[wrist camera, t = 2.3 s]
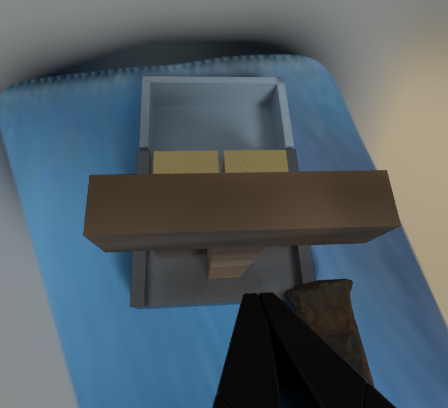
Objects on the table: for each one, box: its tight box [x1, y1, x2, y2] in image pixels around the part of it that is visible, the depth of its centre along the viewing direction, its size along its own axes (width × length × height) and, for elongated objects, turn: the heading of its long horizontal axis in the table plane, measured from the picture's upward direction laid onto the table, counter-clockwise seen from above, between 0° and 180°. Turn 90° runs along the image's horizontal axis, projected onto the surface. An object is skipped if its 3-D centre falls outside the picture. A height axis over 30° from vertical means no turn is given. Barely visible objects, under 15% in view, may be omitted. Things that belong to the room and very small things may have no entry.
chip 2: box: [221, 150, 289, 173], centre depth 21 cm, size 4×4×3 cm
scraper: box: [83, 170, 401, 279], centre depth 16 cm, size 3×10×11 cm, turn 93°
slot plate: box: [130, 149, 315, 309], centre depth 22 cm, size 10×11×3 cm
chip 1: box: [153, 150, 219, 174], centre depth 21 cm, size 4×4×3 cm
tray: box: [139, 76, 294, 158], centre depth 25 cm, size 6×11×3 cm, turn 93°
